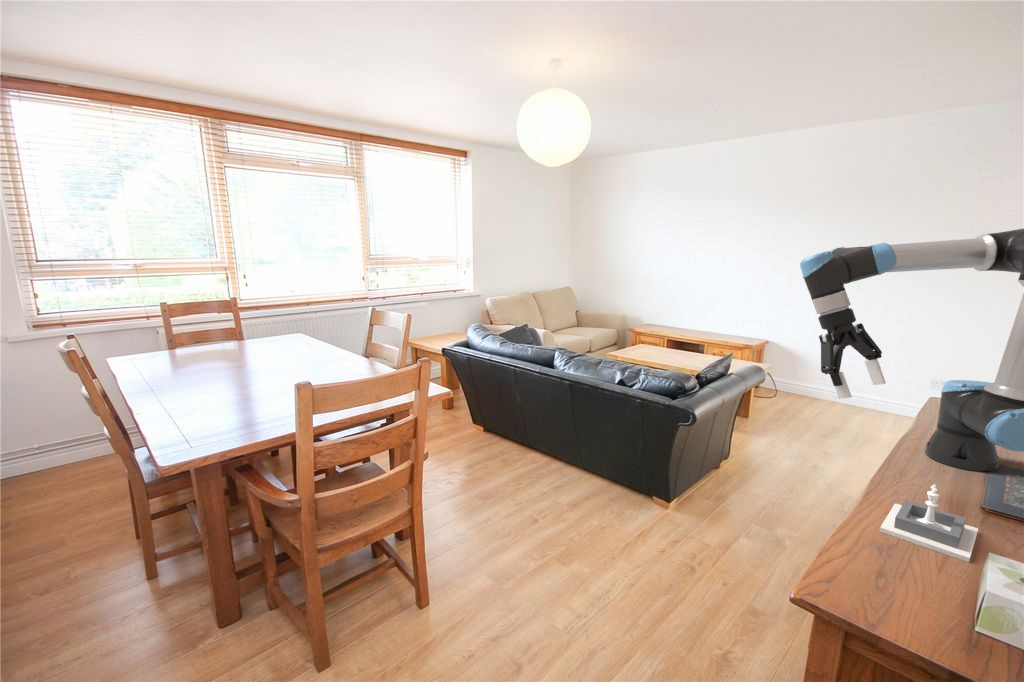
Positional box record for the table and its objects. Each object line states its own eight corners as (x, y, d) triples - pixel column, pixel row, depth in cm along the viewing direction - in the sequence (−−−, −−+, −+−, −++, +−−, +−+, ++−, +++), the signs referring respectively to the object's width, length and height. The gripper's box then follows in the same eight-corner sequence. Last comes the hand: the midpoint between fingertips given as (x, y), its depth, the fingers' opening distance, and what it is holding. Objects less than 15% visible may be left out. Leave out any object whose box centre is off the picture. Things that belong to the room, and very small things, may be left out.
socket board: (894, 507, 109) (896, 493, 108) (977, 532, 98) (980, 518, 98) (879, 531, 100) (881, 516, 99) (969, 562, 90) (971, 546, 89)
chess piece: (936, 523, 101) (943, 481, 99) (948, 536, 96) (955, 492, 94) (909, 519, 102) (914, 478, 100) (919, 532, 98) (925, 489, 96)
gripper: (850, 306, 126) (877, 380, 124) (787, 324, 117) (815, 404, 115) (879, 298, 119) (908, 377, 117) (815, 317, 110) (845, 402, 108)
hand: (862, 391), depth 116 cm, fingers open, 13 cm apart
